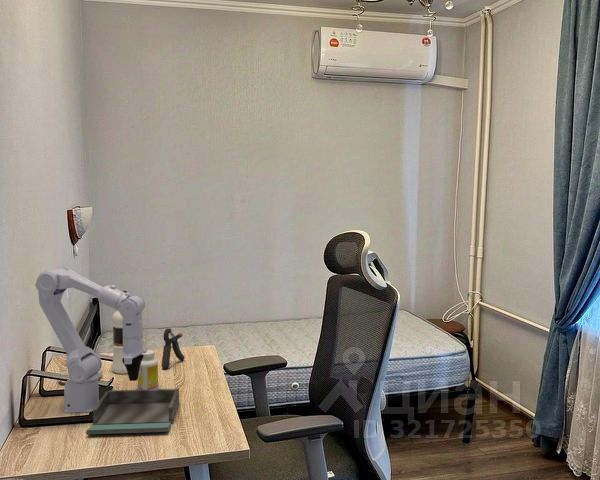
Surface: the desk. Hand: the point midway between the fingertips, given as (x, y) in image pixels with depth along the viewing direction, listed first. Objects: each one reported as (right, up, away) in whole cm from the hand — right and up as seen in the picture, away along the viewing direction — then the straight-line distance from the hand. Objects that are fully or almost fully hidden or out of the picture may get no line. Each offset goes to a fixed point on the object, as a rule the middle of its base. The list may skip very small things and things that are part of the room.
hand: (133, 380), depth 162 cm
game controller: (-27, -7, +26) cm, 38 cm away
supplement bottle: (-1, -8, +18) cm, 20 cm away
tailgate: (+3, -10, -12) cm, 16 cm away
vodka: (-14, -6, +37) cm, 40 cm away
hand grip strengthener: (+2, -6, +43) cm, 44 cm away
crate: (+2, -10, -3) cm, 10 cm away
